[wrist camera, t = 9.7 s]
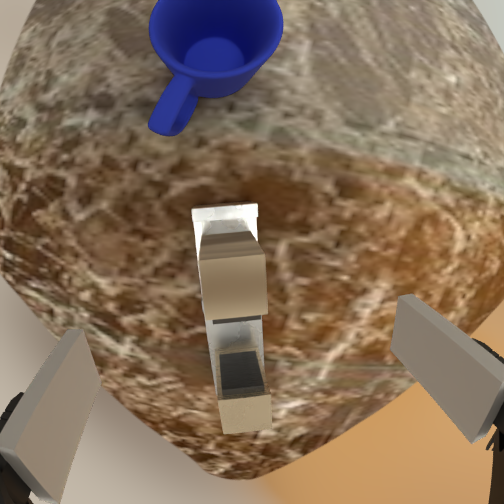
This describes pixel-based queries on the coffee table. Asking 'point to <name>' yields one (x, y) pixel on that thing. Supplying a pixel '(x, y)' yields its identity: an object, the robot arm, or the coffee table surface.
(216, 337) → the rail
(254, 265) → the tan cardboard carton
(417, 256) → the coffee table surface
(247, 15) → the mug
